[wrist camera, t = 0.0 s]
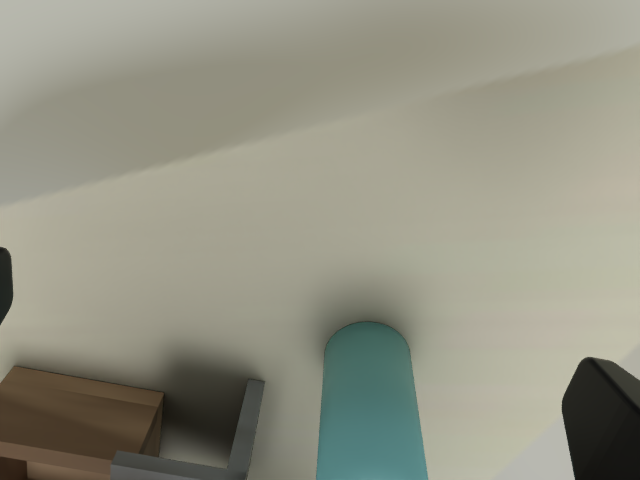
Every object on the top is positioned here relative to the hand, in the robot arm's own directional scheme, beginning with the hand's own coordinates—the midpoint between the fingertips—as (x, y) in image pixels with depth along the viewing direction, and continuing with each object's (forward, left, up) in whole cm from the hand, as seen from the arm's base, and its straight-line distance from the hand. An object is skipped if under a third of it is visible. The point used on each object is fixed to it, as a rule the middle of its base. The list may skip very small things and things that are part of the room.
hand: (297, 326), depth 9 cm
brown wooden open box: (-18, +7, -15) cm, 25 cm away
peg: (-11, -4, -15) cm, 19 cm away
